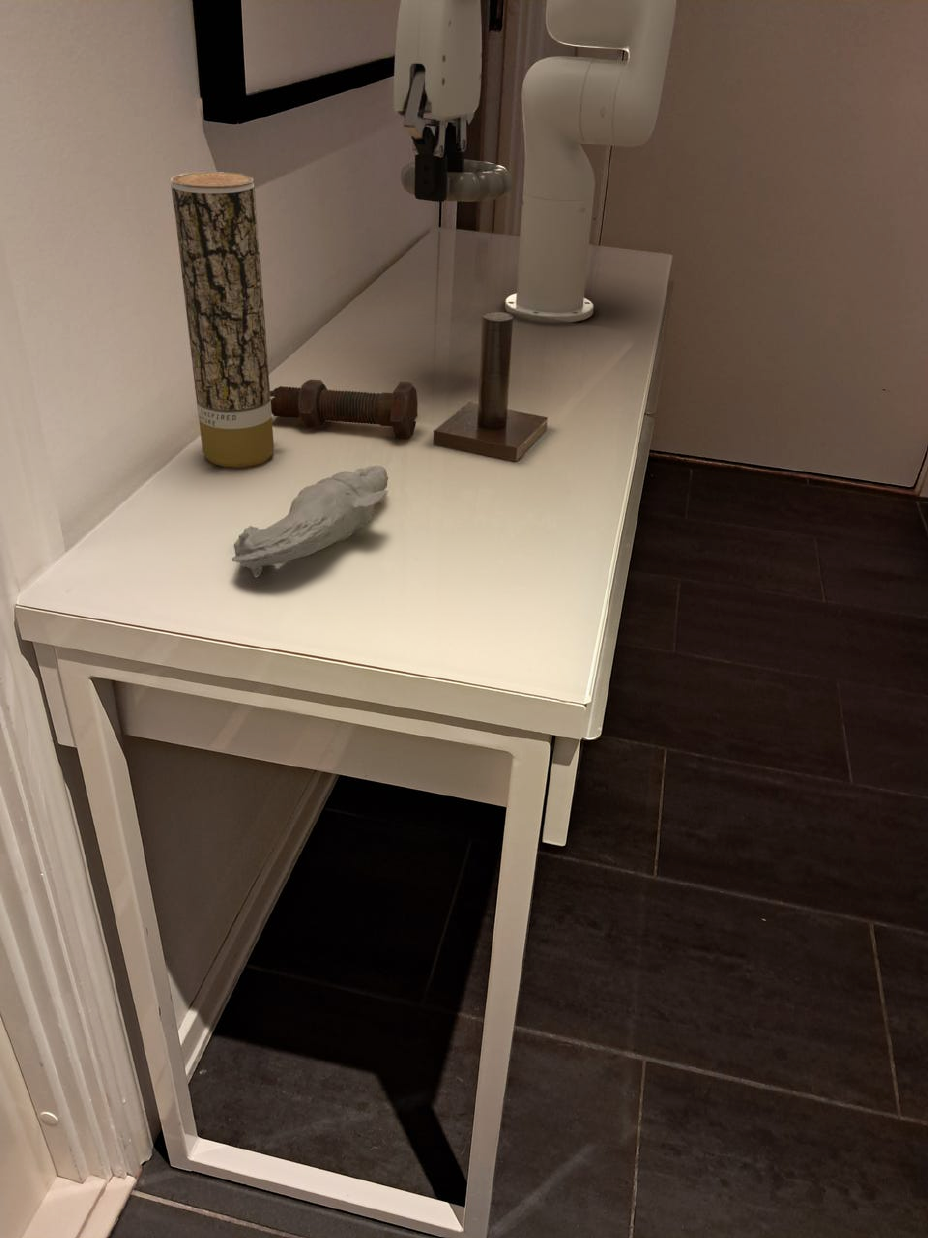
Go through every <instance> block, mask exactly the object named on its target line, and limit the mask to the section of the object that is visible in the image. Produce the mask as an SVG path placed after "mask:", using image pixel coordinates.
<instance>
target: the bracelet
mask: <svg viewBox="0 0 928 1238" xmlns="http://www.w3.org/2000/svg"><path fill="white" fill-rule="evenodd" d="M400 181H401V184H402V187H403V189H404V190H405V192H407V193H408V194H411V195H413V196H415V161H412V162H409V163H407V164H405V165H404V166H403V168H402V169H401V172H400ZM512 187H513V177H512V175H511V174H510V172H509V171H508V170H507V168H505V167H504V166H503V165H500V164H496V163H492V162H488V161H481V160H473V159H465V158H464V169H463V173H457V172H447V191H446V200H445V201H444V202H463V203H464V202H467V203H474V202H484V201H485V202H486V201H494V200H497V199H500V198H502V197H505V196H506V195H508V194H509V193H510V191H511V190H512Z"/></svg>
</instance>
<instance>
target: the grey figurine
mask: <svg viewBox="0 0 928 1238" xmlns="http://www.w3.org/2000/svg"><path fill="white" fill-rule="evenodd" d="M388 480H389V475H388V473H387V469H386V468H384V466H380V465H370V466H368V467H365V468H357V469H356V470H355V471H347V470H346V471H339V472H337V473H334V474H333V475H332V476H330V477H329V476H328V477H326V478H323V479H321V480H319V481H317V482H316V483H315V484H312V485H308V486H305V487H303V488H302V489H301V490H300V491H299V492H298V494H297V496H296V497H295V498H293V500H292V501H291V503H290V507H289V511H288V514H287V515H286V516H284V517H282V518H281V519H280V520H278V521H277V522H275V523H274V524H271V525H270V526H268V527H266V528H261V529H259V528H258V527H255V526H252V525H249V526H248V527H247V528H244V529H243V532H242V533H240V534H239V535H238V538H237V539H236V541H235V542H234V543H233V548H234V555H235V556H233V557H231V561H232V562H235V563H240V566H241V567H244V568H249V569H250V571H251V572H252V573H253V576H254V578H257V577H258V576H260V575H261V573H262V571H263V567H265V566H272V565H273V566H274V565H278V564H283V563H286V562H289V561H293V560H294V559H295V560H296V559H299V558H300V559H301V558H304V557H308V556H311V555H313V554H315V553H317V552H319V551H321V550H323V549H325V548H327V547H328V546H330V545H333V544H337V543H340V542H342V541H344V540H347V539H348V538H349V537H350V536H351V535H353V534H355V533H356V532H357V531H359V530H360V529H361V528H362V527H363V526H364V525H366V524H368V523H369V521H370V520H372V518H373V515H374V508H375V505H376V504H377V503H379V502H382V501H384V499H385V497H386V496H387V494H388V492H389V490H387V487H388V482H389V481H388Z"/></svg>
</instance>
